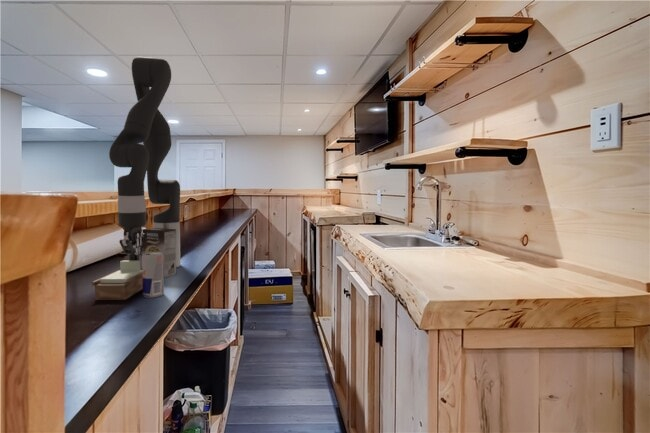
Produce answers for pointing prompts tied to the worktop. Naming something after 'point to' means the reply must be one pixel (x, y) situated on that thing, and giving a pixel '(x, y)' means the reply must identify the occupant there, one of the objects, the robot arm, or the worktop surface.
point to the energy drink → (152, 274)
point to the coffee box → (162, 247)
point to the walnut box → (117, 288)
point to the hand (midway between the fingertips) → (134, 266)
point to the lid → (124, 272)
